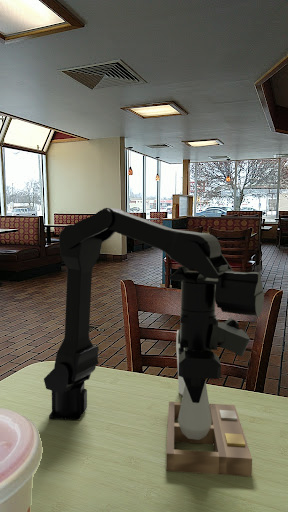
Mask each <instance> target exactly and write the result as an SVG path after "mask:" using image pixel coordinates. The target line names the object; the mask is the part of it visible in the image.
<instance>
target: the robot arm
mask: <svg viewBox="0 0 288 512" xmlns="http://www.w3.org/2000/svg"><path fill="white" fill-rule="evenodd" d="M115 233H117V234H120V235H123V236H125V237H128V238H130V239H133V240H134V241H138V242H141V243H142V244H145V245H148V246H151V247H154V248H156V249H158V250H160V251H162V252H163V253H165V254H166V255H167V256H168V257H169V258H170V260H172V261H174V262H175V263H178V264H179V265H180V266H178V268H177V270H176V271H175V272H174V273H172V274H171V275H169V280H171V281H175V282H176V281H177V282H178V281H179V282H181V290H180V291H181V293H180V295H181V296H180V297H181V298H180V317H179V318H180V327H179V329H177V331H178V344H180V348H179V376H181V377H183V379H184V382H185V384H186V387H187V389H188V392H189V395H190V397H191V400H192V402H193V403H199V401H200V398H201V394H202V391H203V388H204V384H205V381H206V380H207V379H208V380H219V379H221V377H222V364H221V362H220V358H219V356H218V355H217V354H216V353H215V352H214V351H218V347H220V348H221V349H223V350H226V351H229V352H232V353H234V354H235V355H236V356H238V357H243V356H244V354H245V351H246V350H247V347H248V345H249V343H250V340H251V339H250V336H249V335H248V333H247V332H245V331H244V330H243V329H240V324H239V322H238V321H237V320H236V319H233V318H231V317H229V318H228V319H226V320H225V321H221V322H220V321H219V319H218V318H217V314H216V307H217V308H219V309H220V310H221V312H223V313H228V314H229V313H230V314H235V315H236V314H237V315H244V316H251V317H260V316H261V314H262V311H263V306H264V301H265V300H264V299H265V291H264V289H263V288H264V286H263V282H262V273H261V272H259V271H257V272H256V271H251V272H242V271H234V270H233V269H232V267H231V265H230V264H229V262H228V261H227V259H226V258H225V256H224V255H223V254H222V248H221V244H220V241H219V239H218V238H217V237H216V236H214V235H212V234H211V233H205V232H197V231H191V230H180V229H175V228H174V229H173V228H171V227H168V226H165V225H163V224H160V223H157V222H154V221H150V220H149V219H145V218H143V217H140V216H137V215H135V214H131V213H128V212H125V211H123V210H122V209H121V208H114V207H113V208H112V207H104V208H102V209H100V210H99V211H98V212H96V213H94V214H93V215H90V216H87V217H86V218H83V219H82V220H79V221H77V222H75V223H74V224H68V225H66V226H65V227H63V229H61V230H60V233H59V237H58V244H59V253H60V254H59V255H60V257H61V259H62V261H63V263H64V265H65V267H66V271H67V272H66V291H65V292H66V293H65V294H66V296H65V297H66V298H65V318H64V337H63V340H62V342H61V344H60V346H59V347H58V349H57V352H56V355H55V360H54V361H55V362H54V366H53V367H54V368H53V369H52V370H51V371H50V372H48V374H47V375H46V376H45V377H44V378H43V382H44V386H45V389H46V390H49V391H51V412H50V413H49V415H48V417H49V418H48V419H53V420H67V421H68V420H71V421H79V420H81V418H82V416H83V414H84V413H85V412H86V410H87V407H88V389H87V388H85V381H89V380H90V378H91V375H92V373H93V372H94V371H95V370H96V368H97V366H98V365H99V364H100V363H99V360H98V359H99V358H98V355H99V346H98V345H94V344H93V343H92V341H91V339H90V322H91V321H90V317H91V300H92V297H91V296H92V281H93V280H92V278H93V277H92V276H93V274H92V273H93V268H94V267H95V264H96V263H97V261H98V259H99V257H100V254H101V250H102V245H103V243H104V242H106V241H108V240H109V239H111V238H112V236H113V235H114V234H115ZM206 382H207V381H206Z"/></svg>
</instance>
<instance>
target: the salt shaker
mask: <svg viewBox="0 0 288 512" xmlns="http://www.w3.org/2000/svg"><path fill="white" fill-rule="evenodd" d="M180 402H181V407H180V412H179V417H178V419H177V423H179V426H180V428H181V431H182V433H183V434H184V435H185V436H186V437H187V438H188V439H196V440H200V439H202V438H204V437H205V436H206V435H207V433H208V431H209V429H210V427H211V424H212V419H211V413H210V407H209V404H210V401H209V395H208V389H207V381H205V384H204V388H203V391H202V394H201V398H200V401H199V403H193V402H192V400H191V397H190V395H189V392H188V389H187V387H186V384H185V388H184V392H183V395H182V399H181V401H180Z"/></svg>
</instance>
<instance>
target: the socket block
mask: <svg viewBox="0 0 288 512" xmlns="http://www.w3.org/2000/svg"><path fill="white" fill-rule="evenodd" d="M181 402H182V401H168V409H167V410H168V411H167V433H166V434H167V435H166V436H167V437H166V438H167V439H166V463H165V464H166V466H165V467H166V468H165V469H166V470H165V471H167V472H178V473H190V474H191V473H193V474H206V475H221V476H222V475H223V476H237V477H250V478H251V477H252V476H253V475H252V474H253V473H252V471H253V457H252V453H251V451H250V447H249V445H248V442H247V438H246V436H245V433H244V429H243V427H242V426H243V425H242V423H241V419H240V417H239V414H238V413H239V412H238V410H237V408H236V405H235V404H225V403H222V404H221V403H209V407H210V413H211V419H212V424H211V427H210V429H209V431H208V433H207V435H206V436H205V437H204V438H202V439H200V440H196V439H188V438H187V437H186V436H185V435H184V434H183V433H182V431H181V428H180V426H179V423H178V422H175V420H178V417H179V412H180V407H181ZM175 443H185V444H186V443H189V444H204V445H205V444H206V445H213V449H214V451H207V450H203V451H202V450H190V449H188V450H187V449H175Z"/></svg>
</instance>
